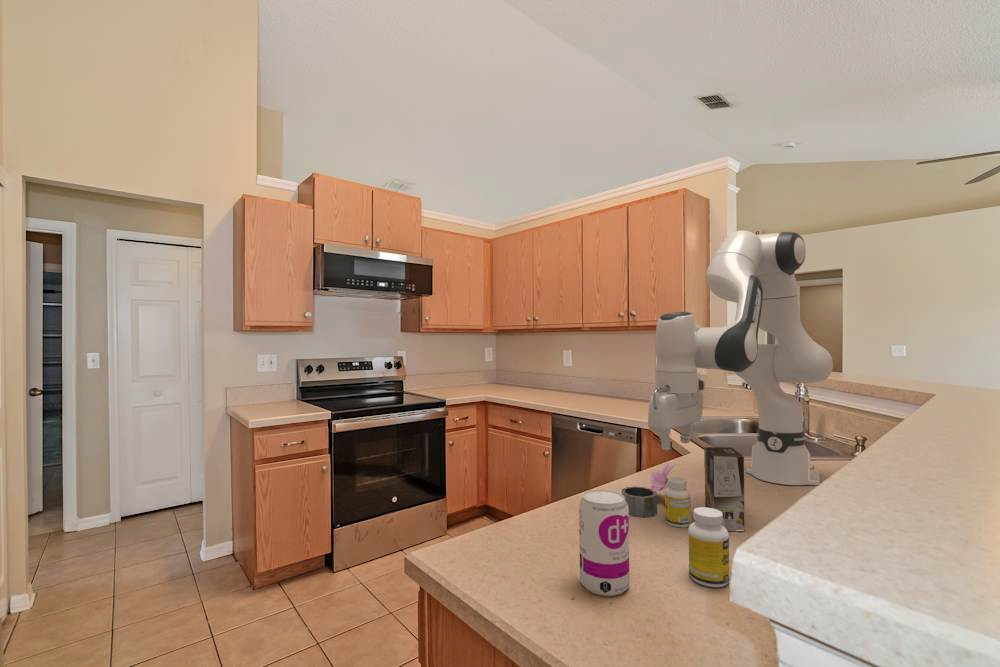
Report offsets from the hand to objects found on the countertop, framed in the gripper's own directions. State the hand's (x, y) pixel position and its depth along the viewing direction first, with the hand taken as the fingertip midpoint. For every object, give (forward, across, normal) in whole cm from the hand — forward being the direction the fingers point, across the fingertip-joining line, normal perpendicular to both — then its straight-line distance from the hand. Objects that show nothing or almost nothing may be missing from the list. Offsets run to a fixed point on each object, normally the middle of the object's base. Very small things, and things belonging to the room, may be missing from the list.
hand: (676, 445), depth 107 cm
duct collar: (+17, +1, +10) cm, 20 cm away
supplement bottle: (+18, 0, 0) cm, 18 cm away
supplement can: (+18, -34, -2) cm, 38 cm away
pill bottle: (+18, -20, -14) cm, 30 cm away
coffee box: (+18, +8, -8) cm, 20 cm away
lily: (+18, +12, +10) cm, 23 cm away
